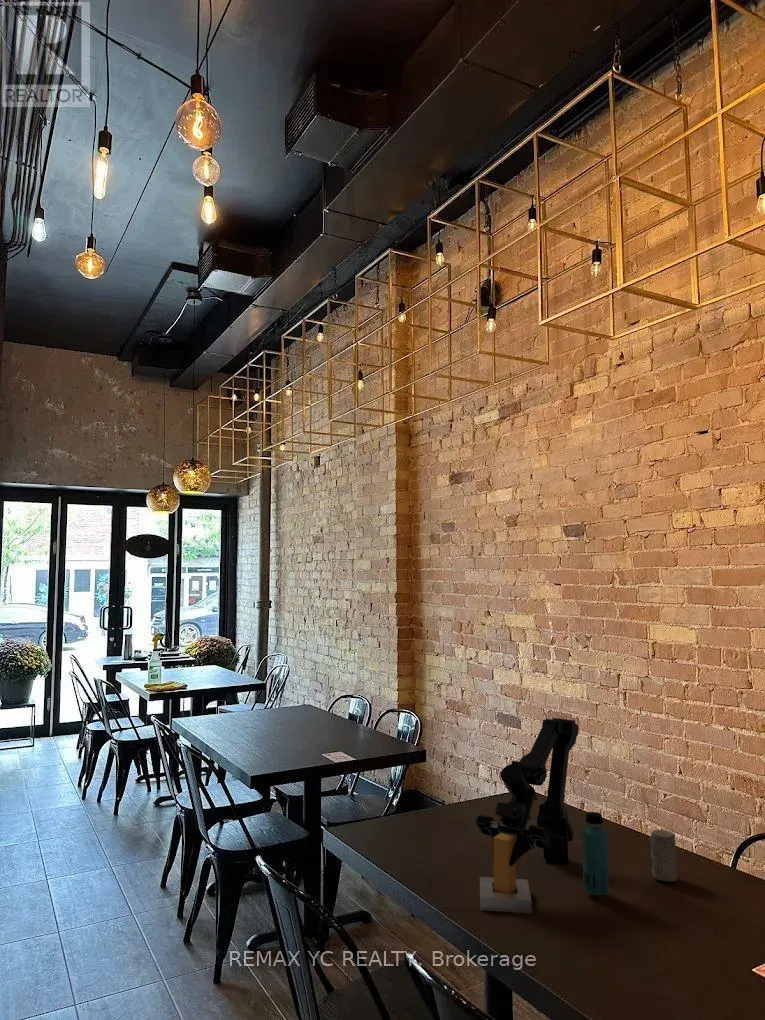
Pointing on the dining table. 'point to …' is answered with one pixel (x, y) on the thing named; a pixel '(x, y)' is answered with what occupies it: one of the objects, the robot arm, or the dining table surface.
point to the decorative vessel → (663, 855)
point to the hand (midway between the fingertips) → (502, 863)
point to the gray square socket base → (505, 897)
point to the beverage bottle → (595, 856)
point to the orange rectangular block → (504, 863)
